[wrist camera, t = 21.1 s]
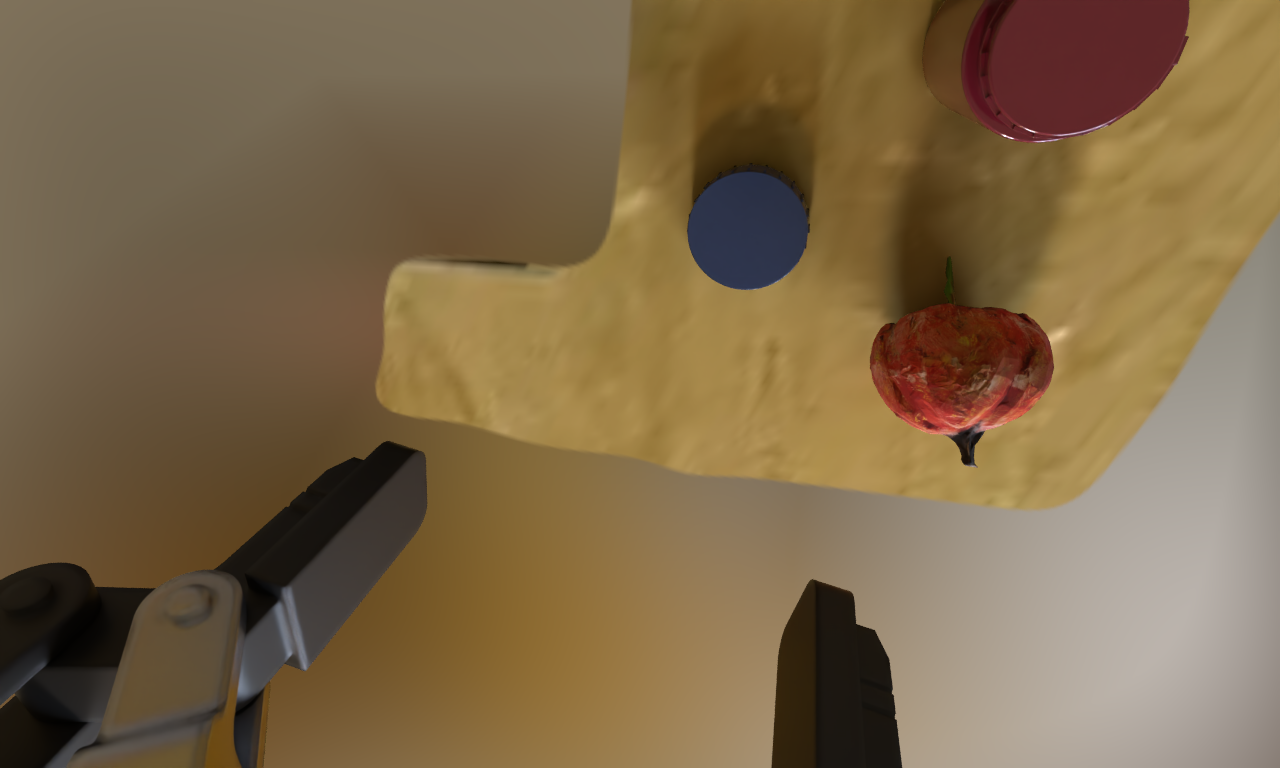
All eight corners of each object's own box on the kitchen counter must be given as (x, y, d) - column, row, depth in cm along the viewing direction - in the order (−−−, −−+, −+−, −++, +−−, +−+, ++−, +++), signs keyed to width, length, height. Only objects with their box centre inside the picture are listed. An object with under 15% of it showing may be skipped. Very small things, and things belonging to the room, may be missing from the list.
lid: (777, 296, 32) (775, 308, 30) (676, 253, 32) (669, 263, 30) (831, 191, 28) (832, 199, 27) (718, 144, 28) (713, 150, 27)
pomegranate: (856, 276, 32) (848, 459, 31) (899, 222, 25) (891, 458, 24) (1000, 282, 31) (998, 471, 30) (1088, 228, 24) (1091, 474, 23)
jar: (906, 111, 26) (947, 142, 18) (944, -39, 23) (1014, -81, 15) (1040, 120, 25) (1147, 159, 17) (1097, -35, 22) (1259, -78, 14)
